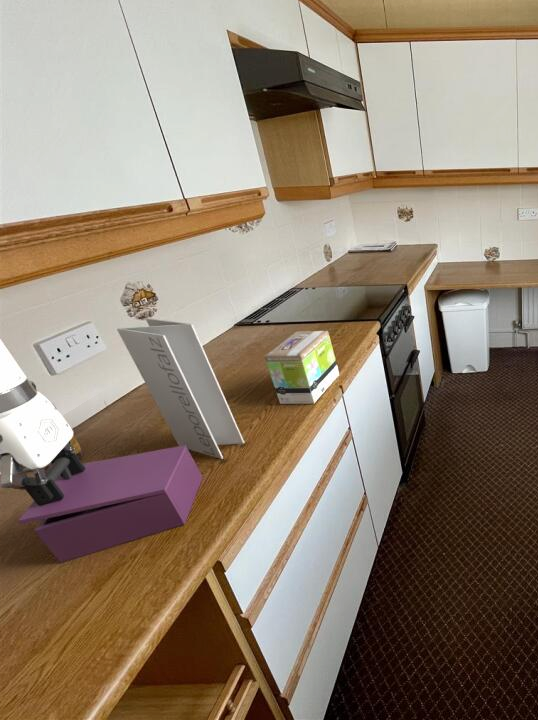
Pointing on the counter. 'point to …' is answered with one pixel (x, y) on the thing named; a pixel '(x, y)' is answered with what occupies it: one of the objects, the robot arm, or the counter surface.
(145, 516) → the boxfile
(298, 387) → the tea box
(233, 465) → the counter surface
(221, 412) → the brochure
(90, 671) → the counter surface
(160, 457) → the file lid
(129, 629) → the counter surface
